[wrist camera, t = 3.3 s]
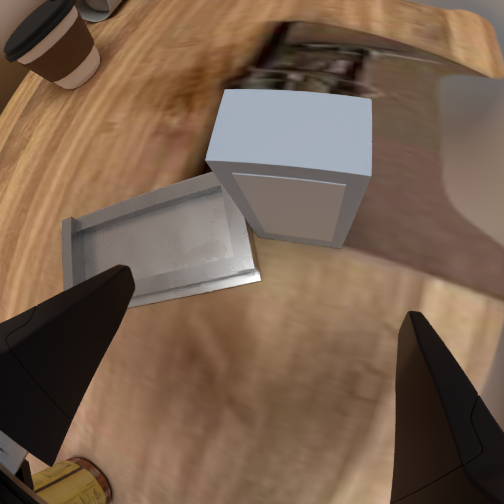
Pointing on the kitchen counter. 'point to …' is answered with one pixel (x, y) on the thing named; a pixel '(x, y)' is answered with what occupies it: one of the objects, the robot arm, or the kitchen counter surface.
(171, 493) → the kitchen counter surface
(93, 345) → the robot arm
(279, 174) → the gray rectangular block
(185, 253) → the grey rectangular tray
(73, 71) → the coffee cup
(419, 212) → the kitchen counter surface
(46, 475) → the sauce bottle
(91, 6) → the ceramic mug
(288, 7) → the kitchen counter surface
